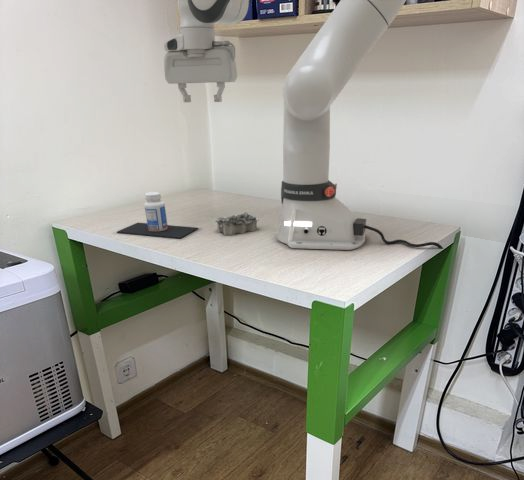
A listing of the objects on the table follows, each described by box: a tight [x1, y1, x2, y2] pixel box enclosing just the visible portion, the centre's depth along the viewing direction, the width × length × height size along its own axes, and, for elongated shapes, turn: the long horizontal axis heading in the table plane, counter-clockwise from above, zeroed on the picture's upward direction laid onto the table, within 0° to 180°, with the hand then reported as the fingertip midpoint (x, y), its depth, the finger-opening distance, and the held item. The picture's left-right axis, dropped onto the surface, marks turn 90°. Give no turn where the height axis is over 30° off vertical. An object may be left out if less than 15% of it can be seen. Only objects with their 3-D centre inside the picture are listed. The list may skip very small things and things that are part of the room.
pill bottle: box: [143, 191, 168, 232], centre depth 130 cm, size 6×5×10 cm
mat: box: [116, 222, 199, 240], centre depth 133 cm, size 20×10×1 cm, turn 69°
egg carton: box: [214, 211, 260, 236], centre depth 131 cm, size 11×8×4 cm
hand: (202, 102), depth 131 cm, fingers open, 8 cm apart
